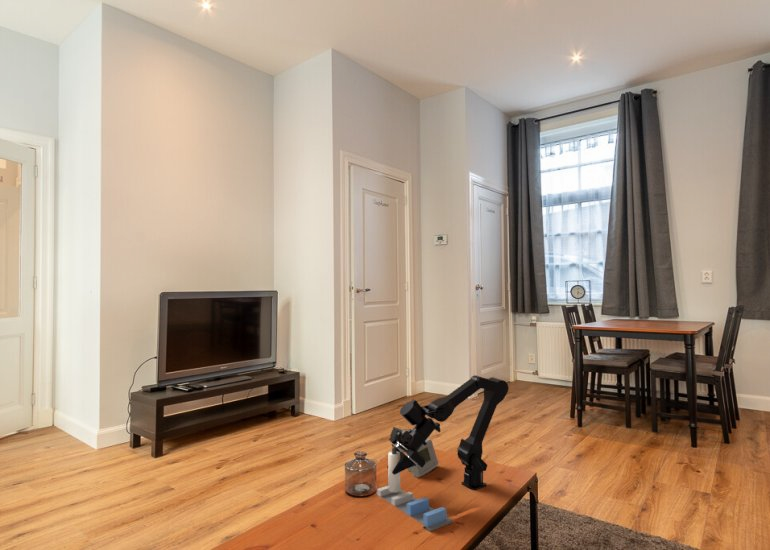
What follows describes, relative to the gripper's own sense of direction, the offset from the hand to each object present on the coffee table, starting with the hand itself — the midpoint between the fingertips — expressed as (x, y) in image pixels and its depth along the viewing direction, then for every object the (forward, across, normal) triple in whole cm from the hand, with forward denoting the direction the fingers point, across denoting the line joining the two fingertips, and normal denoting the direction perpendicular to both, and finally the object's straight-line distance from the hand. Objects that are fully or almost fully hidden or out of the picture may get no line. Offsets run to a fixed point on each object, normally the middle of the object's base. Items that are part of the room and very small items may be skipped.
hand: (390, 471), depth 155 cm
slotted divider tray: (+4, +8, +10) cm, 13 cm away
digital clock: (-8, -18, +22) cm, 29 cm away
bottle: (+4, 0, +5) cm, 6 cm away
